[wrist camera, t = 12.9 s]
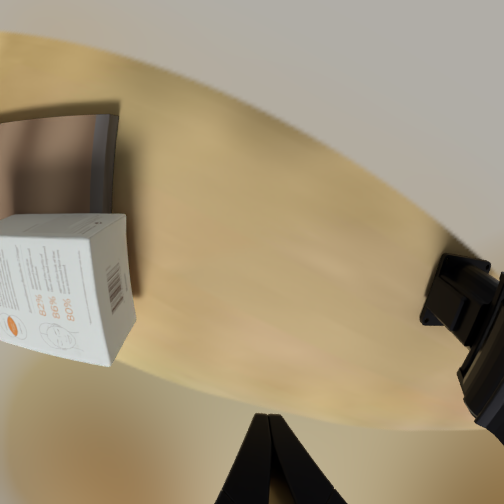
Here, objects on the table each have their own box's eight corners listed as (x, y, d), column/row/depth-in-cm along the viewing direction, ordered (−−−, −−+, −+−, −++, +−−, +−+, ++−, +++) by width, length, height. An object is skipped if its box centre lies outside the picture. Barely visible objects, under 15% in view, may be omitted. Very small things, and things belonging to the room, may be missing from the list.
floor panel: (118, 116, 17) (109, 114, 16) (112, 281, 21) (104, 290, 20) (-10, 126, 16) (-21, 127, 15) (-6, 258, 20) (-16, 263, 19)
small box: (129, 212, 18) (13, 211, 17) (88, 237, 13) (-36, 231, 12) (137, 322, 20) (29, 304, 20) (111, 371, 15) (-8, 339, 15)
